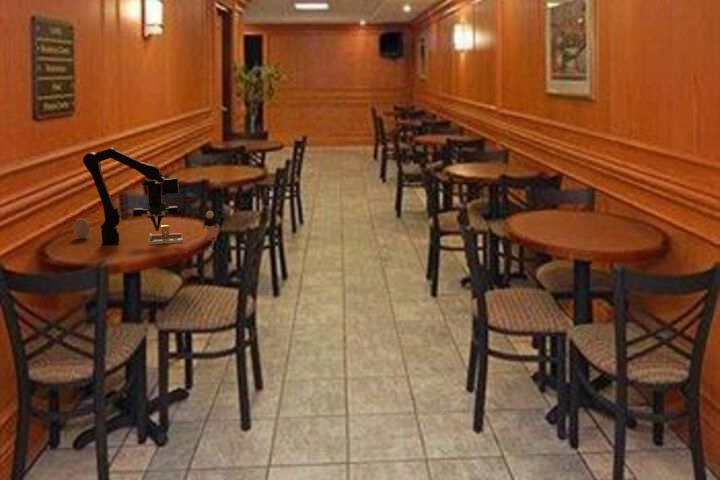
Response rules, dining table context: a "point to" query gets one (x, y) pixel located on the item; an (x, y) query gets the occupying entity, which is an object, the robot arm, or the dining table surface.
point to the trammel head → (165, 229)
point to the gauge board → (161, 239)
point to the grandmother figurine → (210, 226)
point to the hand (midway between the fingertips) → (157, 230)
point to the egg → (81, 228)
